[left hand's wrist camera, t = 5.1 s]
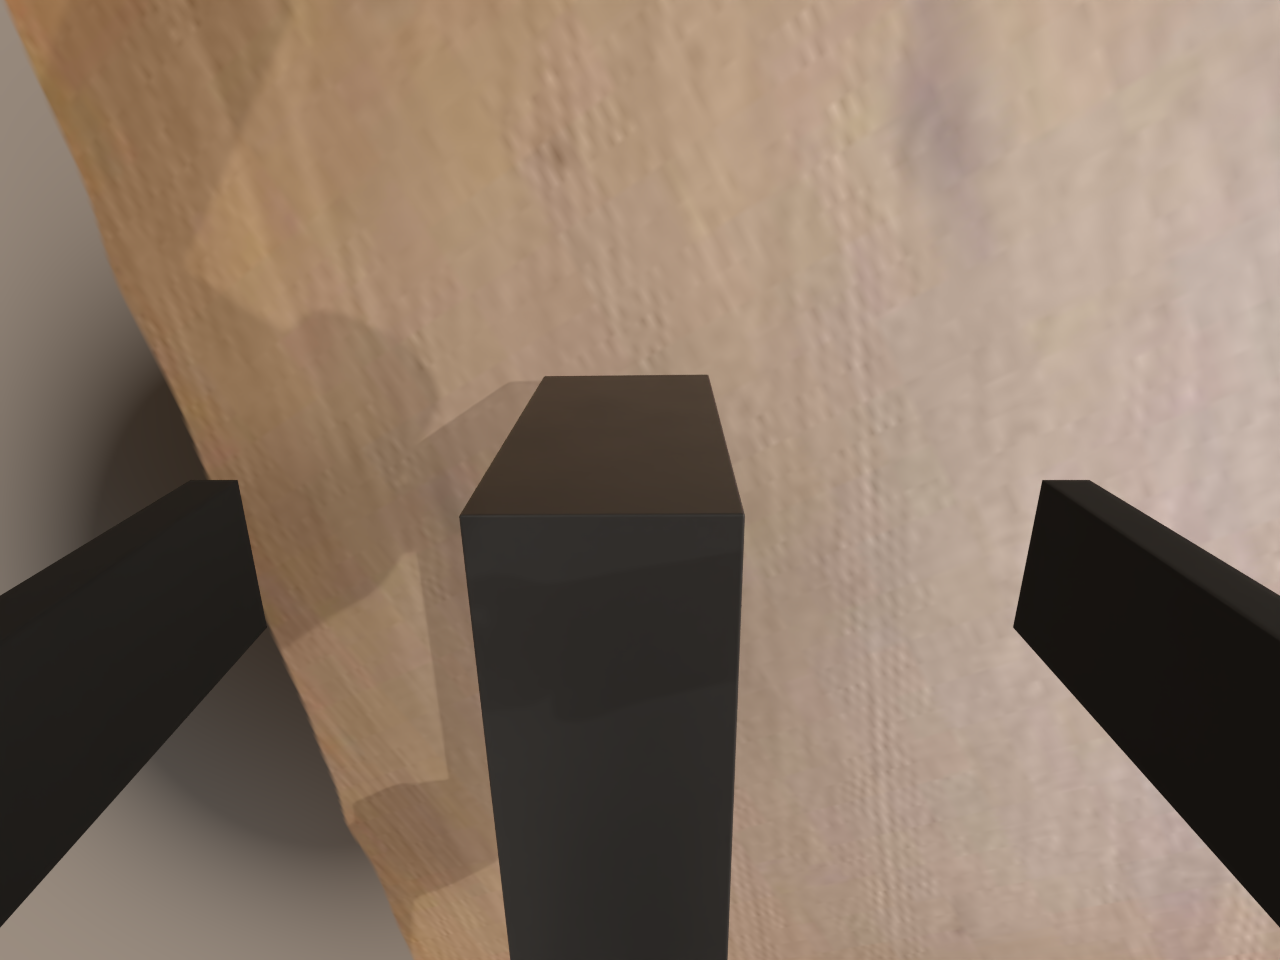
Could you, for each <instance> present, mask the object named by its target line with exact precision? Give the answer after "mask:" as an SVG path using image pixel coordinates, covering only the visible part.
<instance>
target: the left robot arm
mask: <svg viewBox="0 0 1280 960" xmlns="http://www.w3.org/2000/svg"><path fill="white" fill-rule="evenodd" d="M266 628H267V626H266V621H265V616H264V611H263V606H262V601H261V596H260V590H259V585H258V580H257V575H256V570H255V565H254V560H253V555H252V550H251V545H250V540H249V535H248V530H247V525H246V520H245V515H244V510H243V505H242V500H241V495H240V490H239V485H238V480H190V481H188V482H187V483H185V484H183V485H182V486H180V487H179V488H177V489H175V490H174V491H172V492H170V493H169V494H167V495H165V496H164V497H162V498H160V499H159V500H157V501H156V502H154V503H152V504H151V505H149V506H147V507H146V508H144V509H142V510H141V511H139V512H137V513H136V514H134V515H132V516H131V517H129V518H127V519H126V520H124V521H123V522H121V523H119V524H118V525H116V526H114V527H113V528H111V529H109V530H108V531H106V532H104V533H103V534H101V535H100V536H98V537H96V538H95V539H93V540H91V541H90V542H88V543H86V544H85V545H83V546H81V547H80V548H78V549H76V550H75V551H73V552H71V553H70V554H68V555H67V556H65V557H63V558H62V559H60V560H58V561H57V562H55V563H53V564H52V565H50V566H48V567H47V568H45V569H44V570H42V571H40V572H39V573H37V574H35V575H34V576H32V577H30V578H29V579H27V580H25V581H24V582H22V583H20V584H19V585H17V586H15V587H14V588H12V589H11V590H9V591H7V592H6V593H4V594H2V595H1V596H0V927H1V926H2V925H3V924H4V923H5V921H6V920H7V919H8V918H9V917H10V916H11V915H12V914H13V912H14V911H15V910H16V909H17V908H18V907H19V906H20V904H21V903H22V902H23V901H24V900H25V899H26V898H27V897H28V896H29V894H30V893H31V892H32V891H33V890H34V889H35V888H36V886H37V885H38V884H39V883H40V882H41V881H42V880H43V879H44V878H45V876H46V875H47V874H48V873H49V872H50V871H51V870H52V869H53V867H54V866H55V865H56V864H57V863H58V862H59V861H60V860H61V858H62V857H63V856H64V855H65V854H66V853H67V852H68V851H69V849H70V848H71V847H72V846H73V845H74V844H75V843H76V842H77V840H78V839H79V838H80V837H81V836H82V835H83V834H84V833H85V831H86V830H87V829H88V828H89V827H90V826H91V825H92V824H93V822H94V821H95V820H96V819H97V818H98V817H99V816H100V815H101V813H102V812H103V811H104V810H105V809H106V808H107V807H108V805H109V804H110V803H111V802H112V801H113V800H114V799H115V798H116V797H117V795H118V794H119V793H120V792H121V791H122V790H123V789H124V788H125V786H126V785H127V784H128V783H129V782H130V781H131V780H132V778H133V777H134V776H135V775H136V774H137V773H138V772H139V771H140V769H141V768H142V767H143V766H144V765H145V764H146V763H147V762H148V761H149V759H150V758H151V757H152V756H153V755H154V754H155V753H156V752H157V750H158V749H159V748H160V747H161V746H162V745H163V744H164V743H165V741H166V740H167V739H168V738H169V737H170V736H171V735H172V734H173V732H174V731H175V730H176V729H177V728H178V727H179V726H180V724H181V723H182V722H183V721H184V720H185V719H186V718H187V717H188V715H189V714H190V713H191V712H192V711H193V710H194V709H195V708H196V706H197V705H198V704H199V703H200V702H201V701H202V700H203V699H204V697H205V696H206V695H207V694H208V693H209V692H210V691H211V690H212V688H213V687H214V686H215V685H216V684H217V683H218V682H219V681H220V679H221V678H222V677H223V676H224V675H225V674H226V673H227V672H228V670H229V669H230V668H231V667H232V666H233V665H234V664H235V663H236V661H237V660H238V659H239V658H240V657H241V656H242V655H243V654H244V652H245V651H246V650H247V649H248V648H249V647H250V646H251V645H252V643H253V642H254V641H255V640H256V639H257V638H258V637H259V635H260V634H261V633H262V632H263V631H264V630H265V629H266ZM1013 628H1014V629H1015V630H1016V631H1017V632H1018V633H1019V634H1020V636H1021V637H1022V638H1023V639H1024V640H1025V641H1026V642H1027V643H1028V645H1029V646H1030V647H1031V648H1032V649H1033V650H1034V651H1035V652H1036V654H1037V655H1038V656H1039V657H1040V658H1041V659H1042V660H1043V661H1044V663H1045V664H1046V665H1047V666H1048V667H1049V668H1050V669H1051V670H1052V672H1053V673H1054V674H1055V675H1056V676H1057V677H1058V678H1059V679H1060V681H1061V682H1062V683H1063V684H1064V685H1065V686H1066V687H1067V688H1068V690H1069V691H1070V692H1071V693H1072V694H1073V695H1074V696H1075V697H1076V699H1077V700H1078V701H1079V702H1080V703H1081V704H1082V705H1083V706H1084V708H1085V709H1086V710H1087V711H1088V712H1089V713H1090V714H1091V716H1092V717H1093V718H1094V719H1095V720H1096V721H1097V722H1098V723H1099V725H1100V726H1101V727H1102V728H1103V729H1104V730H1105V731H1106V732H1107V734H1108V735H1109V736H1110V737H1111V738H1112V739H1113V740H1114V741H1115V743H1116V744H1117V745H1118V746H1119V747H1120V748H1121V749H1122V750H1123V752H1124V753H1125V754H1126V755H1127V756H1128V757H1129V758H1130V759H1131V761H1132V762H1133V763H1134V764H1135V765H1136V766H1137V767H1138V768H1139V770H1140V771H1141V772H1142V773H1143V774H1144V775H1145V776H1146V777H1147V779H1148V780H1149V781H1150V782H1151V783H1152V784H1153V785H1154V786H1155V788H1156V789H1157V790H1158V791H1159V792H1160V793H1161V794H1162V795H1163V797H1164V798H1165V799H1166V800H1167V801H1168V802H1169V803H1170V804H1171V806H1172V807H1173V808H1174V809H1175V810H1176V811H1177V812H1178V813H1179V815H1180V816H1181V817H1182V818H1183V819H1184V820H1185V821H1186V822H1187V824H1188V825H1189V826H1190V827H1191V828H1192V829H1193V830H1194V831H1195V833H1196V834H1197V835H1198V836H1199V837H1200V838H1201V839H1202V840H1203V842H1204V843H1205V844H1206V845H1207V846H1208V847H1209V848H1210V849H1211V851H1212V852H1213V853H1214V854H1215V855H1216V856H1217V857H1218V858H1219V860H1220V861H1221V862H1222V863H1223V864H1224V865H1225V866H1226V867H1227V869H1228V870H1229V871H1230V872H1231V873H1232V874H1233V875H1234V876H1235V878H1236V879H1237V880H1238V881H1239V882H1240V883H1241V884H1242V885H1243V887H1244V888H1245V889H1246V890H1247V891H1248V892H1249V893H1250V894H1251V896H1252V897H1253V898H1254V899H1255V900H1256V901H1257V902H1258V903H1259V905H1260V906H1261V907H1262V908H1263V909H1264V910H1265V911H1266V912H1267V914H1268V915H1269V916H1270V917H1271V918H1272V919H1273V920H1274V921H1275V923H1276V924H1277V925H1278V926H1279V927H1280V596H1279V595H1278V594H1276V593H1274V592H1273V591H1271V590H1269V589H1268V588H1266V587H1265V586H1263V585H1261V584H1260V583H1258V582H1256V581H1255V580H1253V579H1251V578H1250V577H1248V576H1246V575H1245V574H1243V573H1241V572H1240V571H1238V570H1237V569H1235V568H1233V567H1232V566H1230V565H1228V564H1227V563H1225V562H1223V561H1222V560H1220V559H1218V558H1217V557H1215V556H1213V555H1212V554H1210V553H1209V552H1207V551H1205V550H1204V549H1202V548H1200V547H1199V546H1197V545H1195V544H1194V543H1192V542H1190V541H1189V540H1187V539H1185V538H1184V537H1182V536H1181V535H1179V534H1177V533H1176V532H1174V531H1172V530H1171V529H1169V528H1167V527H1166V526H1164V525H1162V524H1161V523H1159V522H1157V521H1156V520H1154V519H1153V518H1151V517H1149V516H1148V515H1146V514H1144V513H1143V512H1141V511H1139V510H1138V509H1136V508H1134V507H1133V506H1131V505H1129V504H1128V503H1126V502H1125V501H1123V500H1121V499H1120V498H1118V497H1116V496H1115V495H1113V494H1111V493H1110V492H1108V491H1106V490H1105V489H1103V488H1101V487H1100V486H1098V485H1097V484H1095V483H1093V482H1092V481H1090V480H1042V485H1041V490H1040V495H1039V500H1038V505H1037V510H1036V515H1035V520H1034V525H1033V530H1032V535H1031V540H1030V545H1029V550H1028V555H1027V560H1026V565H1025V570H1024V575H1023V580H1022V585H1021V590H1020V596H1019V601H1018V606H1017V611H1016V616H1015V621H1014V626H1013Z"/></svg>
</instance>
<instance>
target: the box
mask: <svg viewBox="0 0 1280 960" xmlns="http://www.w3.org/2000/svg"><path fill="white" fill-rule="evenodd" d="M459 518H460V527H461V536H462V544H463V553H464V562H465V570H466V579H467V588H468V596H469V605H470V614H471V622H472V631H473V640H474V648H475V657H476V666H477V674H478V683H479V692H480V700H481V709H482V718H483V726H484V735H485V744H486V752H487V761H488V770H489V778H490V787H491V796H492V804H493V813H494V822H495V830H496V839H497V848H498V856H499V865H500V874H501V882H502V891H503V900H504V908H505V917H506V926H507V935H508V943H509V952H510V960H727V958H728V932H729V907H730V881H731V855H732V830H733V804H734V779H735V753H736V728H737V702H738V677H739V651H740V626H741V600H742V574H743V549H744V523H745V515H744V511H743V507H742V503H741V499H740V495H739V492H738V488H737V484H736V480H735V476H734V472H733V468H732V465H731V461H730V457H729V453H728V449H727V445H726V441H725V438H724V434H723V430H722V426H721V422H720V418H719V414H718V411H717V407H716V403H715V399H714V395H713V391H712V388H711V384H710V380H709V376H708V375H634V376H545V377H544V378H543V380H542V381H541V383H540V384H539V386H538V388H537V389H536V391H535V393H534V394H533V396H532V398H531V399H530V401H529V403H528V404H527V406H526V407H525V409H524V411H523V412H522V414H521V416H520V417H519V419H518V421H517V422H516V424H515V426H514V427H513V429H512V430H511V432H510V434H509V435H508V437H507V439H506V440H505V442H504V444H503V445H502V447H501V449H500V450H499V452H498V454H497V455H496V457H495V458H494V460H493V462H492V463H491V465H490V467H489V468H488V470H487V472H486V473H485V475H484V477H483V478H482V480H481V481H480V483H479V485H478V486H477V488H476V490H475V491H474V493H473V495H472V496H471V498H470V500H469V501H468V503H467V504H466V506H465V508H464V509H463V511H462V513H461V514H460V517H459Z"/></svg>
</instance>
